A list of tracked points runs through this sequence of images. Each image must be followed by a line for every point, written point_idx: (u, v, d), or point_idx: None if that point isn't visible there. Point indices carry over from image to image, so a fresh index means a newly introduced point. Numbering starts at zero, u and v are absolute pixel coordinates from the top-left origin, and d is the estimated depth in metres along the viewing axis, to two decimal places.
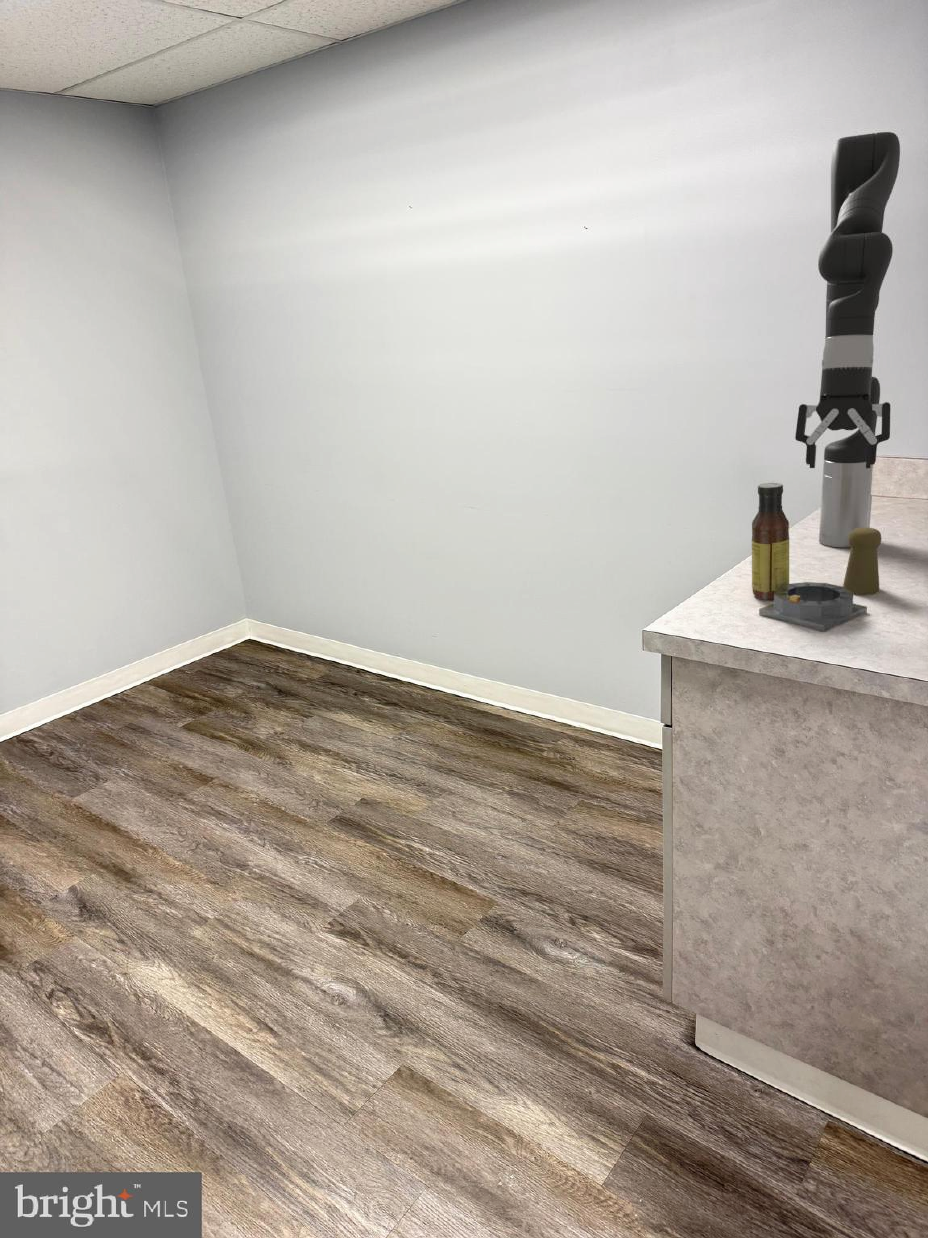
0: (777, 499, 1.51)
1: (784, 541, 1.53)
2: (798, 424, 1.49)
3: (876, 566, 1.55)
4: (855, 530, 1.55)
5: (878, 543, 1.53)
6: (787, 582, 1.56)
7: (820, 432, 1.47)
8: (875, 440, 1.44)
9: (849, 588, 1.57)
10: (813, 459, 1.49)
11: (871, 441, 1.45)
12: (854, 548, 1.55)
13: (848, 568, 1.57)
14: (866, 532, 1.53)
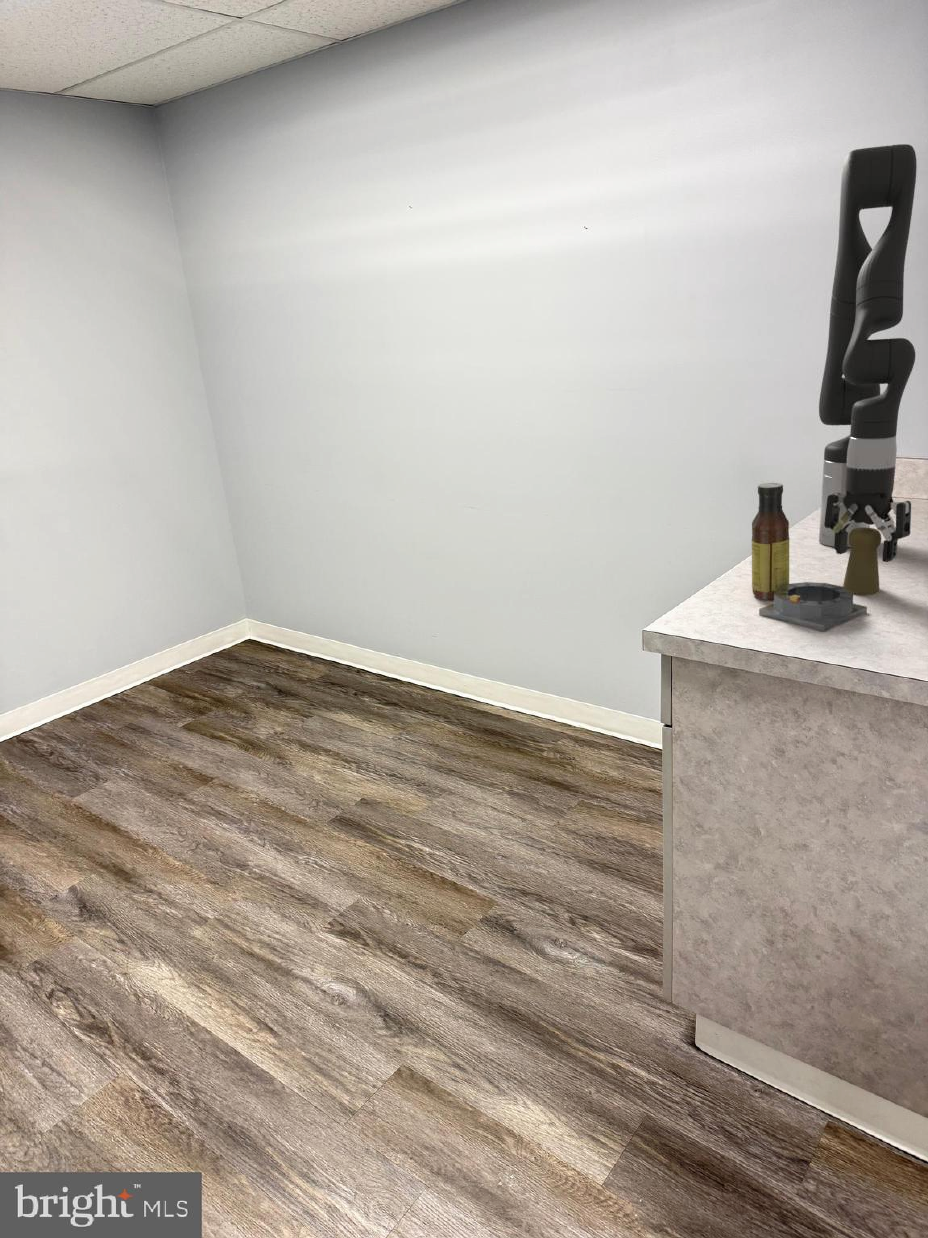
0: (777, 499, 1.51)
1: (784, 541, 1.53)
2: (827, 512, 1.58)
3: (876, 566, 1.55)
4: (855, 530, 1.55)
5: (878, 543, 1.53)
6: (787, 582, 1.56)
7: (843, 523, 1.56)
8: (890, 537, 1.50)
9: (849, 588, 1.57)
10: (839, 546, 1.58)
11: (886, 538, 1.50)
12: (854, 548, 1.55)
13: (848, 568, 1.57)
14: (866, 532, 1.53)
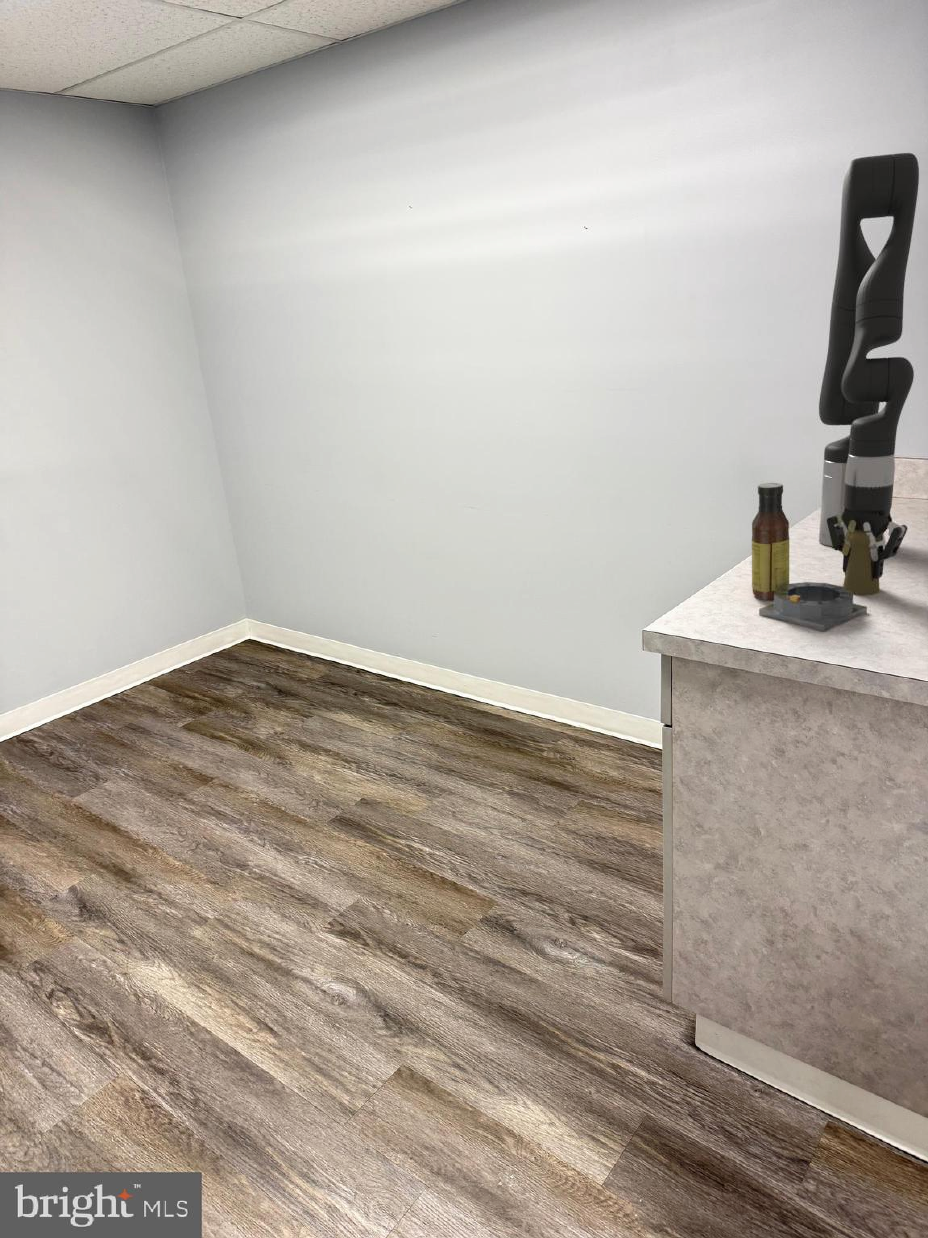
0: (777, 499, 1.51)
1: (784, 541, 1.53)
2: (831, 536, 1.59)
3: None
4: None
5: None
6: (787, 582, 1.56)
7: None
8: (876, 557, 1.53)
9: (849, 588, 1.57)
10: None
11: (873, 558, 1.53)
12: (854, 548, 1.55)
13: (848, 568, 1.57)
14: None
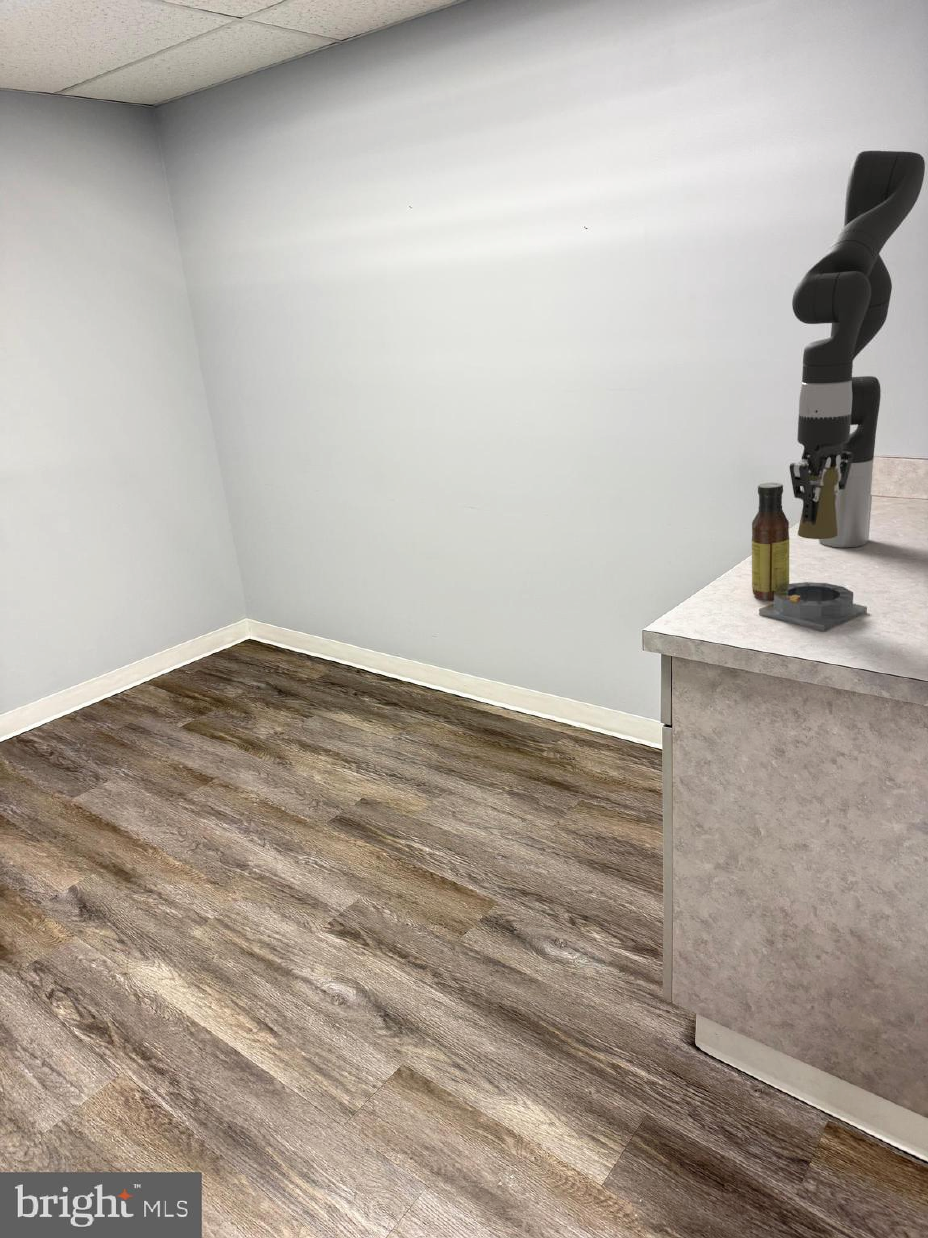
0: (777, 499, 1.51)
1: (784, 541, 1.53)
2: None
3: None
4: None
5: None
6: (787, 582, 1.56)
7: None
8: None
9: None
10: None
11: None
12: None
13: None
14: None
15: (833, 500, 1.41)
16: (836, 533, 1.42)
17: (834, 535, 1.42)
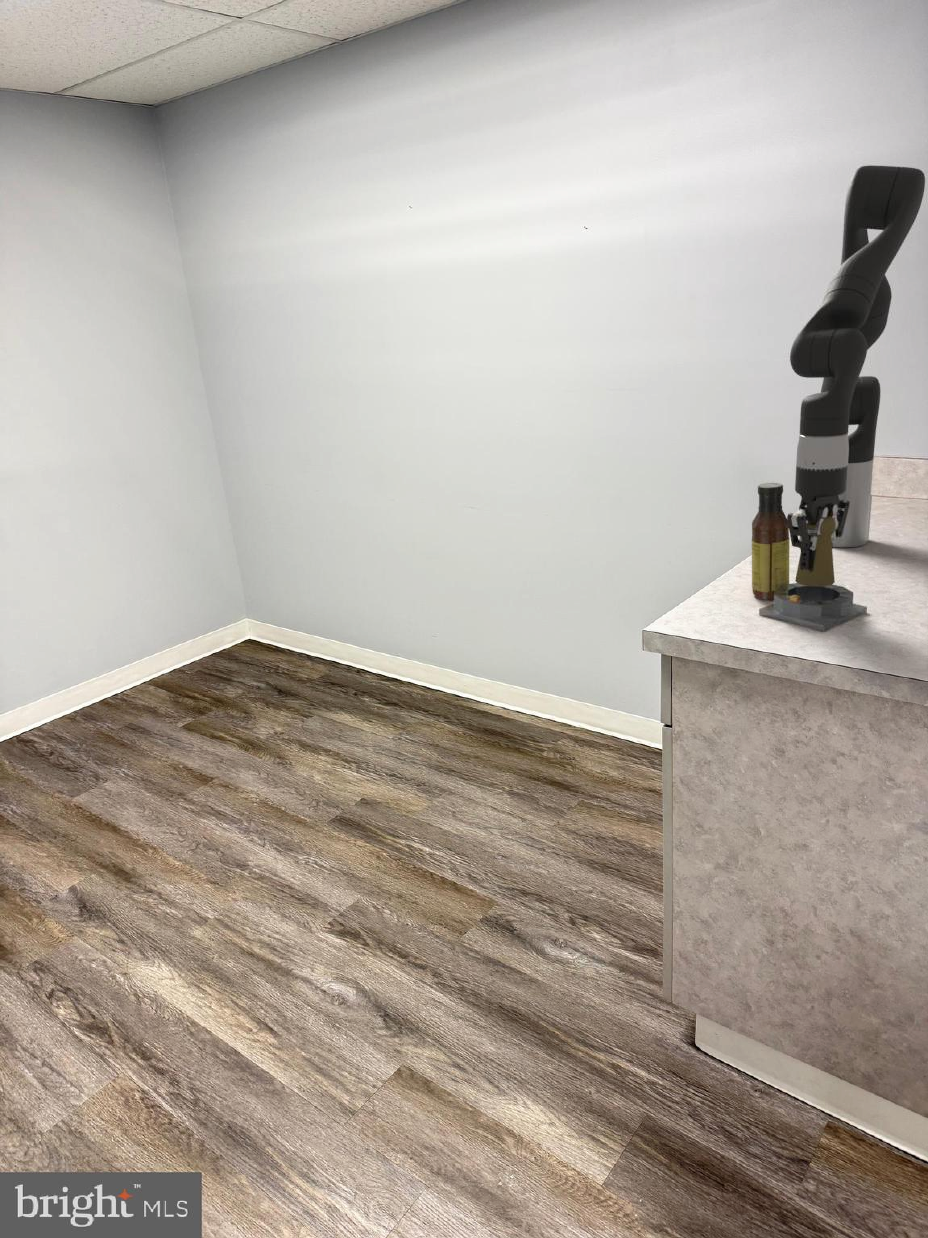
0: (777, 499, 1.51)
1: (784, 541, 1.53)
2: None
3: None
4: None
5: None
6: (787, 582, 1.56)
7: None
8: None
9: None
10: None
11: None
12: None
13: None
14: None
15: (830, 548, 1.43)
16: (833, 580, 1.45)
17: (831, 582, 1.44)
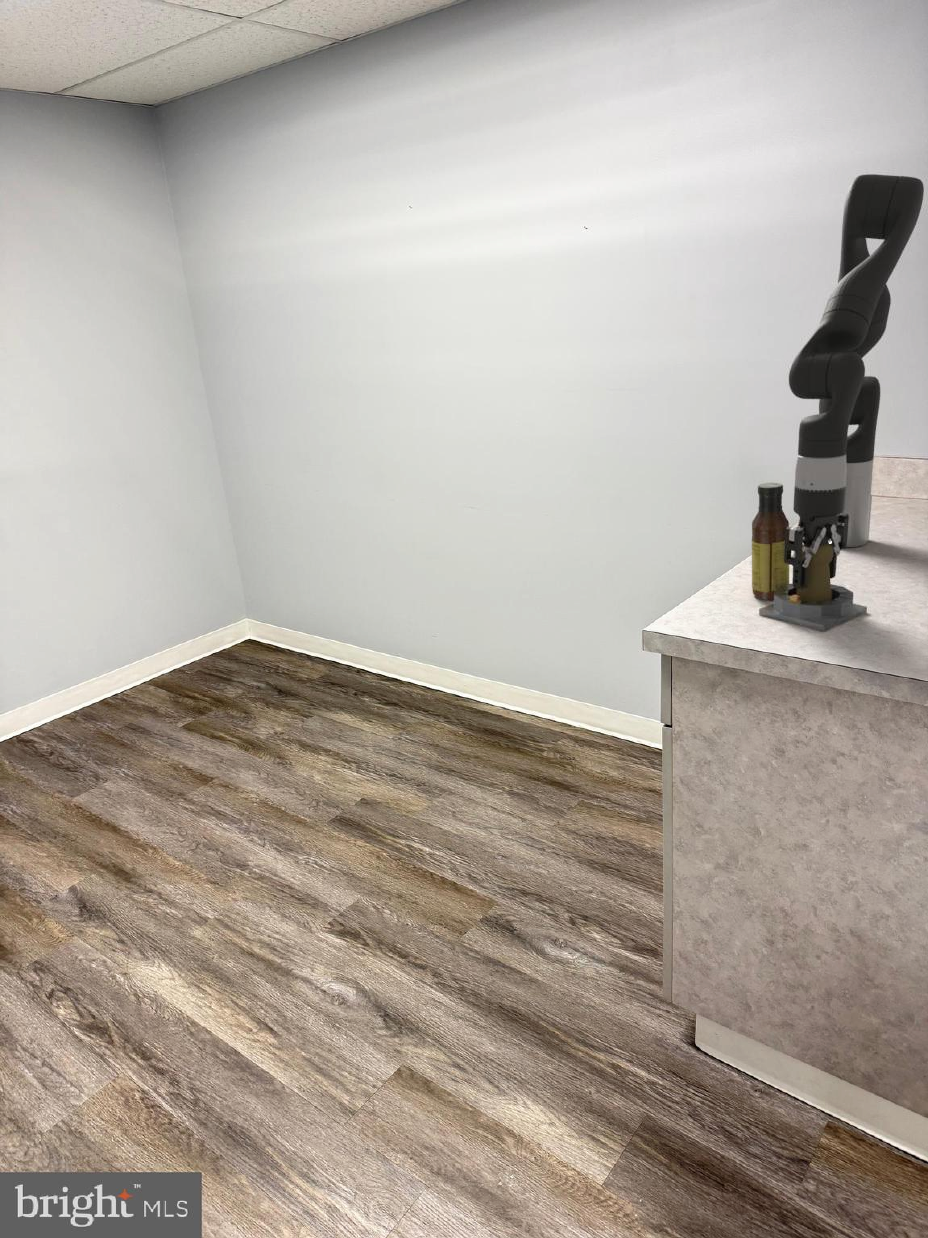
0: (777, 499, 1.51)
1: (784, 541, 1.53)
2: None
3: None
4: None
5: None
6: (787, 582, 1.56)
7: None
8: None
9: None
10: None
11: None
12: None
13: None
14: None
15: (828, 576, 1.45)
16: None
17: None
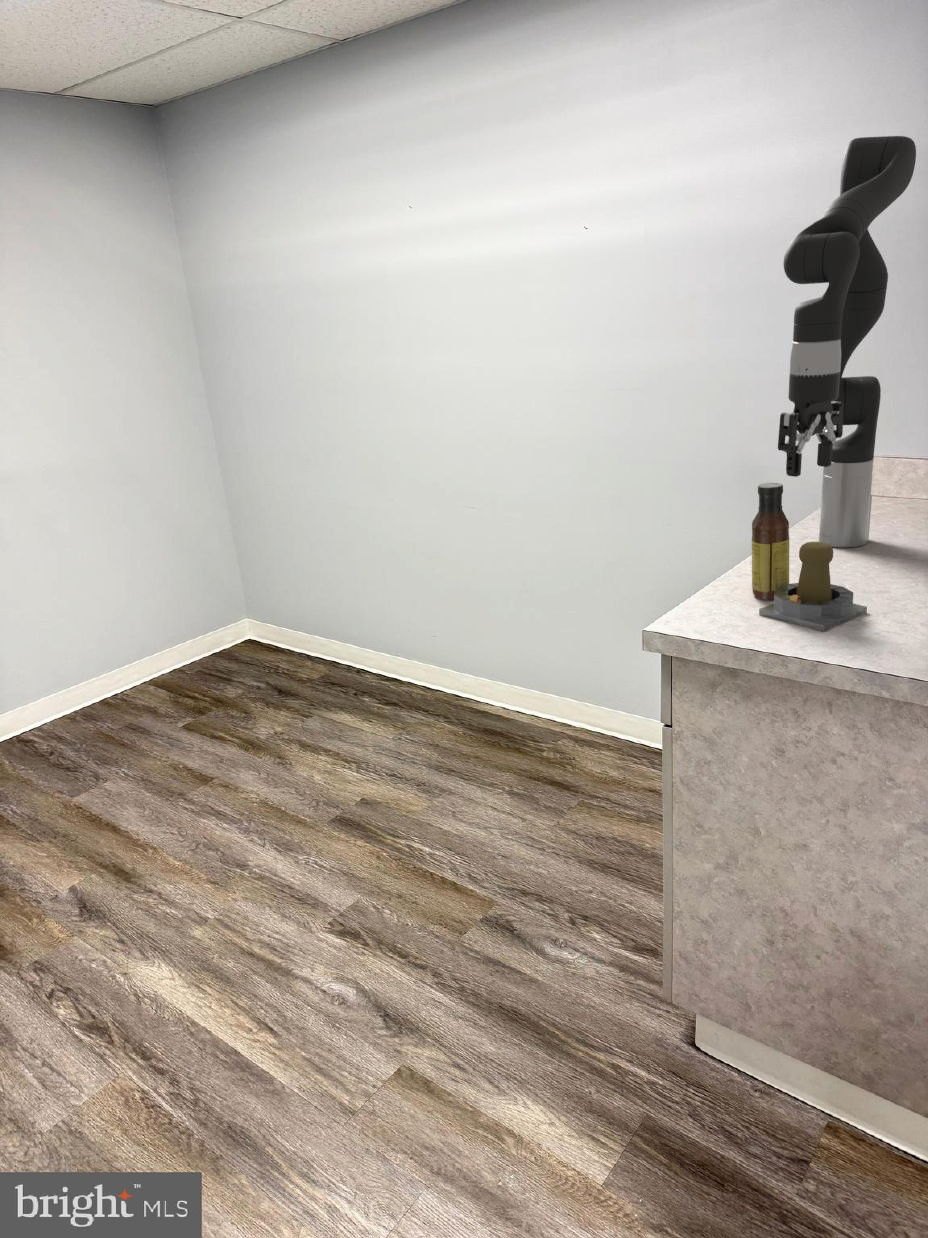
0: (777, 499, 1.51)
1: (784, 541, 1.53)
2: None
3: (806, 584, 1.46)
4: None
5: (806, 559, 1.44)
6: (787, 582, 1.56)
7: None
8: None
9: None
10: (817, 457, 1.51)
11: None
12: None
13: None
14: (804, 544, 1.45)
15: (828, 576, 1.45)
16: None
17: None
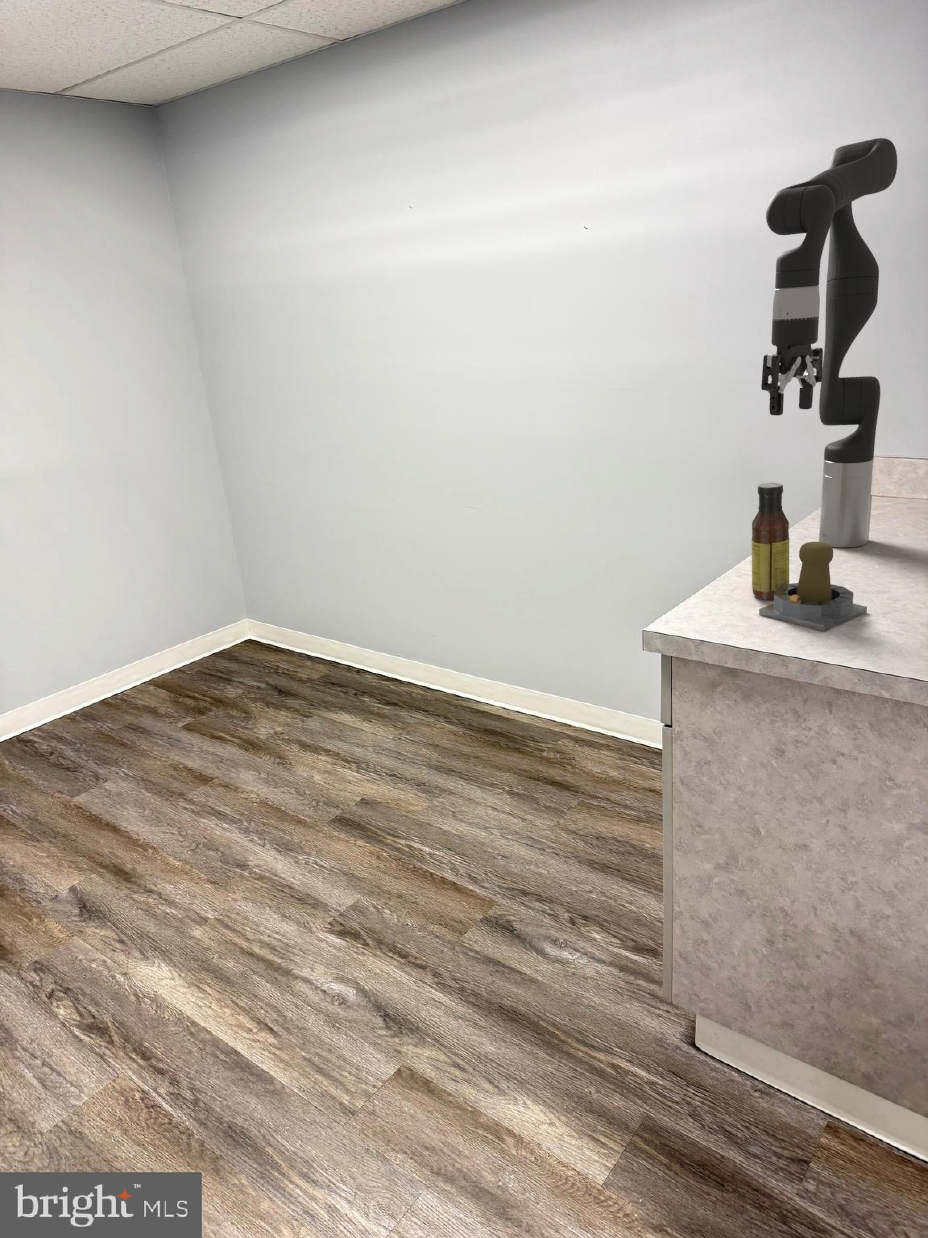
0: (777, 499, 1.51)
1: (784, 541, 1.53)
2: None
3: (806, 584, 1.46)
4: None
5: (806, 559, 1.44)
6: (787, 582, 1.56)
7: None
8: None
9: None
10: (799, 400, 1.62)
11: None
12: None
13: None
14: (805, 544, 1.45)
15: (828, 576, 1.45)
16: None
17: None
